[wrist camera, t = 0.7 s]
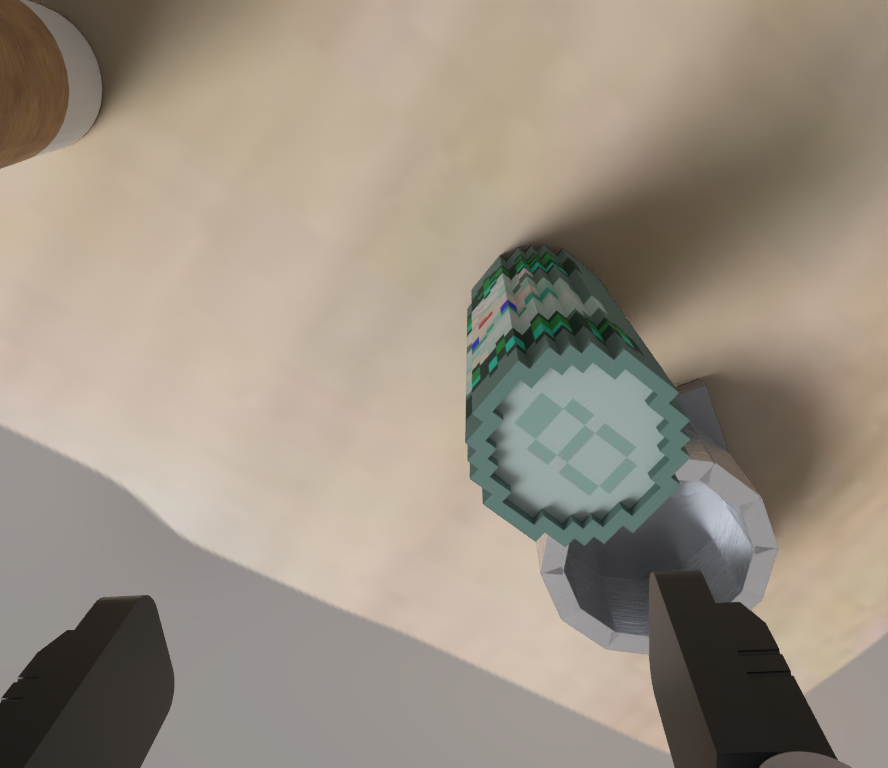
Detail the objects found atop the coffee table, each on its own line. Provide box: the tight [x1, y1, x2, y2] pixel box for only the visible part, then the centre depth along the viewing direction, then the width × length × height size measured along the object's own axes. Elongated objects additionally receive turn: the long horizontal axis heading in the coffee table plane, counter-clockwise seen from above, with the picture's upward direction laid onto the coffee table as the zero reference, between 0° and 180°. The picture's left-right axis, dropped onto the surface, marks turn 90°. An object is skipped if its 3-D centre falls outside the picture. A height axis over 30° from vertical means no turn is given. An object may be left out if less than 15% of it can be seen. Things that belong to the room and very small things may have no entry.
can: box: [465, 244, 691, 547], centre depth 29 cm, size 6×6×15 cm
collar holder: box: [536, 379, 778, 655], centre depth 37 cm, size 10×10×6 cm
